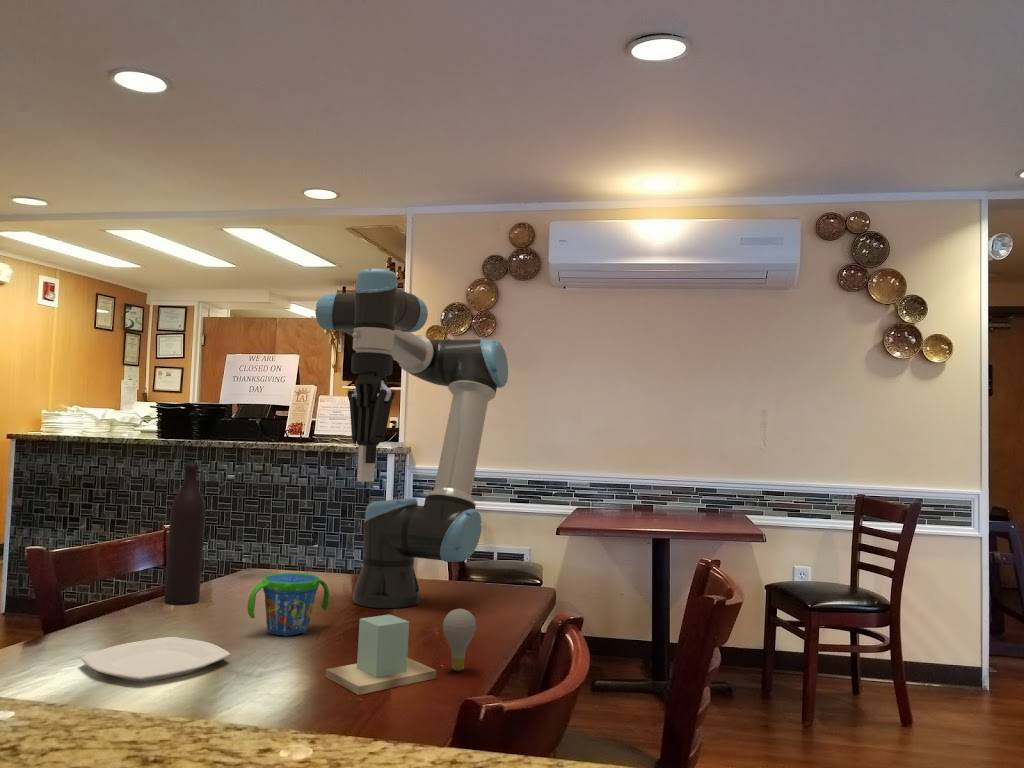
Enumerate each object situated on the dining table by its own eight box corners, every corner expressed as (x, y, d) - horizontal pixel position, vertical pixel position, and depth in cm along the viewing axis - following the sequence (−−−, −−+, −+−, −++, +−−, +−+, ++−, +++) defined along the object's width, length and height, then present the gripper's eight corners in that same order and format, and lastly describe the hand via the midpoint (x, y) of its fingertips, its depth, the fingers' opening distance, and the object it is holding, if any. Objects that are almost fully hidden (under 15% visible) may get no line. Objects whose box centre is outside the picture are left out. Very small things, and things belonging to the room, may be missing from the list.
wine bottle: (206, 601, 166) (215, 463, 168) (176, 606, 160) (187, 463, 162) (186, 596, 170) (195, 461, 172) (157, 601, 164) (167, 462, 166)
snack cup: (318, 621, 153) (321, 570, 153) (337, 634, 144) (340, 579, 144) (238, 629, 144) (242, 575, 145) (253, 643, 135) (257, 585, 136)
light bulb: (440, 665, 127) (443, 604, 127) (473, 666, 127) (476, 605, 128) (440, 676, 121) (443, 612, 122) (474, 676, 122) (477, 613, 122)
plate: (135, 696, 107) (136, 682, 108) (61, 669, 118) (62, 656, 118) (246, 665, 124) (247, 652, 124) (173, 644, 134) (174, 632, 134)
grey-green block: (356, 668, 119) (359, 618, 120) (387, 662, 123) (389, 614, 124) (375, 677, 115) (378, 626, 116) (406, 671, 119) (409, 621, 119)
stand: (401, 662, 128) (403, 618, 128) (436, 678, 120) (438, 631, 121) (325, 677, 118) (328, 629, 119) (358, 695, 111) (361, 644, 111)
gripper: (337, 352, 143) (329, 478, 141) (373, 348, 133) (366, 484, 131) (371, 357, 148) (365, 478, 146) (409, 353, 138) (402, 483, 136)
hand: (365, 481), depth 139 cm, fingers closed
